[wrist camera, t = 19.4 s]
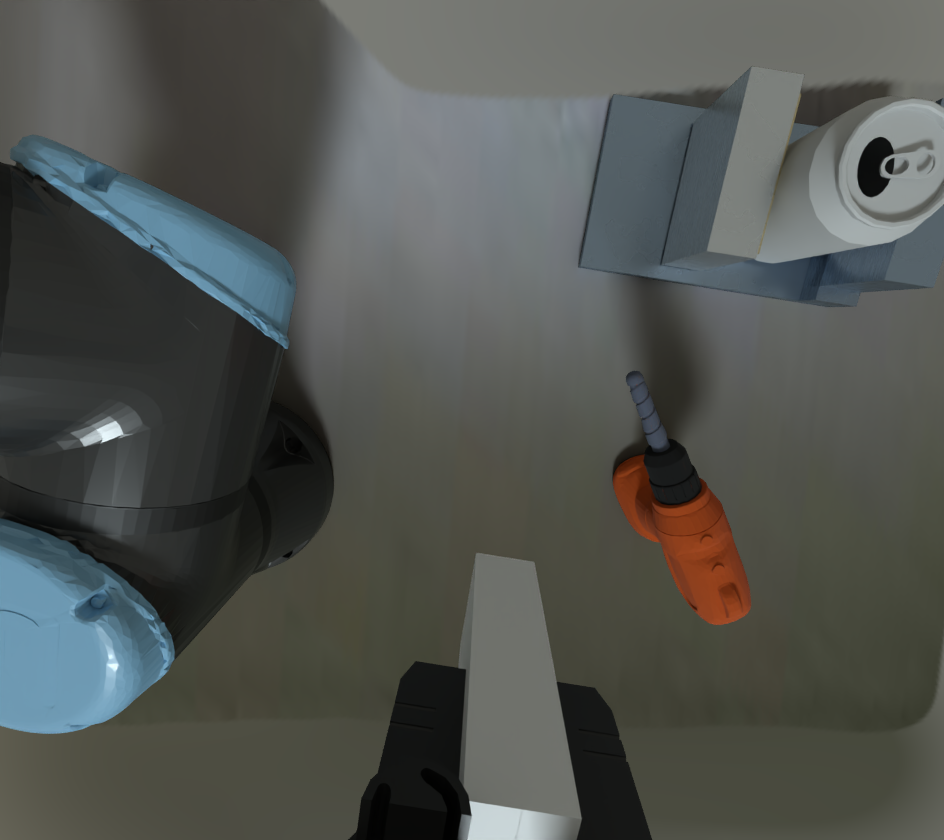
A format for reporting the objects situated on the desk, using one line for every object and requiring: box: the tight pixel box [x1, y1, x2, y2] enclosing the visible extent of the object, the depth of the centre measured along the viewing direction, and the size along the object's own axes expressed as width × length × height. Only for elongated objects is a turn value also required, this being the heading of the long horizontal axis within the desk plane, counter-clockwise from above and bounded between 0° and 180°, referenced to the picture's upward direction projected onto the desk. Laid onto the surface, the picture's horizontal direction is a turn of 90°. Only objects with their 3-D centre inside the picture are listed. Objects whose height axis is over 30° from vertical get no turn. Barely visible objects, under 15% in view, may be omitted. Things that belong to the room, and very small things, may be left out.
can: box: [755, 96, 944, 264], centre depth 31 cm, size 8×8×12 cm
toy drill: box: [613, 371, 751, 625], centre depth 34 cm, size 5×19×15 cm, turn 26°
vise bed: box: [578, 94, 944, 307], centre depth 33 cm, size 20×12×9 cm, turn 81°
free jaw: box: [661, 66, 804, 271], centre depth 33 cm, size 4×10×8 cm, turn 171°
